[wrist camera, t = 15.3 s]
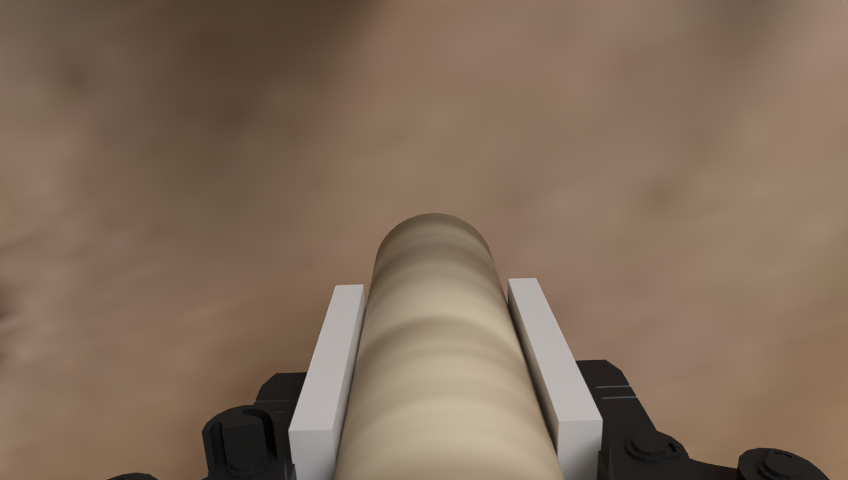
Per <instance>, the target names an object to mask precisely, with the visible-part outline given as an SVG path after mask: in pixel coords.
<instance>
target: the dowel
mask: <svg viewBox="0 0 848 480" xmlns="http://www.w3.org/2000/svg"><path fill="white" fill-rule="evenodd" d="M333 480H565V479H564V476H563V473H562V470H561V467H560V464H559V461H558V458H557V455H556V452H555V449H554V446H553V443H552V439H551V436H550V433H549V430H548V427H547V424H546V421H545V418H544V415H543V412H542V409H541V406H540V403H539V400H538V397H537V393H536V390H535V387H534V384H533V381H532V378H531V375H530V372H529V369H528V366H527V363H526V360H525V357H524V354H523V351H522V348H521V344H520V341H519V338H518V335H517V332H516V329H515V326H514V323H513V320H512V317H511V314H510V311H509V308H508V305H507V302H506V298H505V295H504V292H503V289H502V286H501V283H500V280H499V277H498V274H497V271H496V268H495V265H494V262H493V259H492V256H491V253H490V250H489V247H488V245H487V243H486V241H485V240H484V238H483V237H482V236H481V234H480V233H479V232H478V231H477V230H476V229H475V228H474V227H472V226H471V225H470V224H468V223H467V222H465V221H463V220H461V219H459V218H457V217H454V216H450V215H446V214H438V213H431V214H422V215H418V216H415V217H412V218H409V219H407V220H405V221H403V222H402V223H400V224H399V225H397V226H396V227H395V228H394V229H392V230H391V231H390V232H389V234H388V235H387V236H386V237H385V238H384V240H383V242H382V243H381V245H380V247H379V249H378V252H377V256H376V260H375V265H374V270H373V275H372V280H371V286H370V291H369V296H368V301H367V306H366V312H365V317H364V322H363V327H362V332H361V338H360V343H359V348H358V353H357V358H356V364H355V369H354V374H353V379H352V384H351V390H350V395H349V400H348V405H347V410H346V416H345V421H344V426H343V431H342V436H341V442H340V447H339V452H338V457H337V462H336V468H335V473H334V478H333Z"/></svg>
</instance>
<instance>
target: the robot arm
mask: <svg viewBox="0 0 848 480" xmlns="http://www.w3.org/2000/svg"><path fill="white" fill-rule="evenodd" d="M508 308H509V311H510V314H511V317H512V320H513V323H514V326H515V329H516V332H517V335H518V338H519V341H520V344H521V348H522V351H523V354H524V357H525V360H526V363H527V366H528V369H529V372H530V375H531V378H532V381H533V384H534V387H535V390H536V393H537V397H538V400H539V403H540V406H541V409H542V412H543V415H544V418H545V421H546V424H547V427H548V430H549V433H550V436H551V439H552V443H553V446H554V449H555V452H556V455H557V458H558V461H559V464H560V467H561V470H562V473H563V476H564V479H565V480H829V479H828V477H827V476H826V475H825V474H824V473H823V472H822V471H821V470H820V469H818V468H817V467H816V466H814V465H813V464H812V463H810V462H809V461H808V460H806V459H804V458H801V457H799V456H797V455H795V454H793V453H790V452H787V451H782V450H778V449H772V448H756V449H752V450H747V451H746V452H745V453H743V454H742V455H741V456H739V461H738V467H737V469H736V468H730V467H724V466H718V465H713V464H707V463H703V462H699V461H695V460H693V459H690V458H689V456H688V453H687V452H686V450H685V449H684V447H683V446H682V444H680V443H679V442H678V441H676V440H675V439H674V438H672V437H671V436H668V435H666V434H664V433H661V432H659V431H657V430H656V428H655V427H654V425H653V423H652V422H651V420H650V418H649V417H648V415H647V413H646V412H645V410H644V408H643V406H642V405H641V403H640V401H639V400H638V398H636V395H635V393H634V391H633V390H632V388H631V387H629V383H628V381H627V380H626V378H625V376H624V375H623V373H622V371H621V370H619V369H618V368H617V367H615V366H614V365H612V364H611V363H609V362H608V361H607V360H582V361H575V360H574V358H573V356H572V354H571V351H570V349H569V347H568V345H567V343H566V341H565V339H564V337H563V334H562V332H561V330H560V328H559V326H558V324H557V322H556V320H555V318H554V315H553V313H552V311H551V309H550V307H549V305H548V303H547V301H546V299H545V296H544V294H543V292H542V290H541V288H540V286H539V284H538V282H537V280H536V278H522V279H508ZM365 312H366V311H365V297H364V284H363V285H336V286H335V289H334V292H333V296H332V299H331V302H330V305H329V308H328V311H327V314H326V317H325V320H324V323H323V326H322V329H321V332H320V335H319V339H318V342H317V345H316V348H315V351H314V354H313V357H312V360H311V363H310V366H309V369H308V372H302V373H276V374H275V375H274V376H273V377H271V378H270V379H269V380H268V381H267V382H266V383H265V384H263V385H262V387H261V389H260V391H259V393H258V396H257V398H256V402H255V403H254V405H243V406H239V407H235V408H231V409H228V410H226V411H224V412H222V413H219V414H217V415H216V416H214V417H213V418H212V419H211V420H210V421H208V422H207V423H206V425H205V427H204V429H203V430H202V437H203V442H204V448H205V454H206V459H207V465H208V471H209V473H208V477H206V478H204V479H202V480H333V478H334V473H335V468H336V462H337V457H338V452H339V447H340V442H341V436H342V431H343V426H344V421H345V416H346V410H347V405H348V400H349V395H350V390H351V384H352V379H353V374H354V369H355V364H356V358H357V353H358V348H359V343H360V338H361V332H362V327H363V322H364V317H365ZM108 480H158V479H156V478H155V477H153V476H152V475H150V474H144V473H130V474H122V475H119V476H116V477H113V478H110V479H108Z"/></svg>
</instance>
